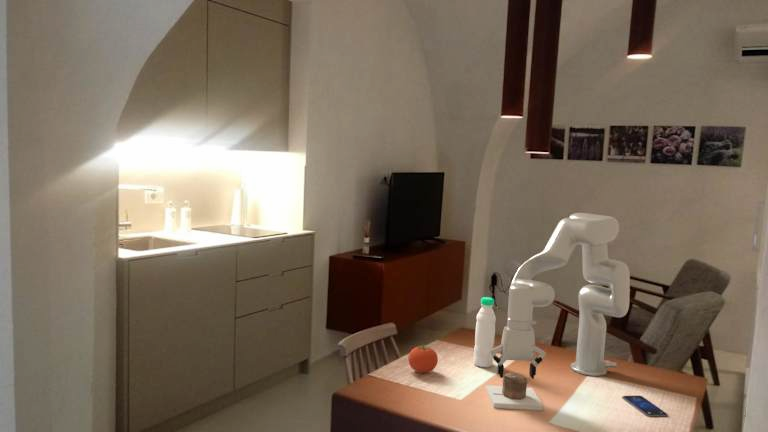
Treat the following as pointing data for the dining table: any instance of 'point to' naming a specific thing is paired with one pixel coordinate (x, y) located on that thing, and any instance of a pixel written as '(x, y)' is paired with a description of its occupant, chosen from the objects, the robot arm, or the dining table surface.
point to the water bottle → (484, 333)
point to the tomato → (423, 359)
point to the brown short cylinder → (514, 386)
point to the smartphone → (645, 406)
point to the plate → (504, 402)
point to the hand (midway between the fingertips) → (516, 376)
